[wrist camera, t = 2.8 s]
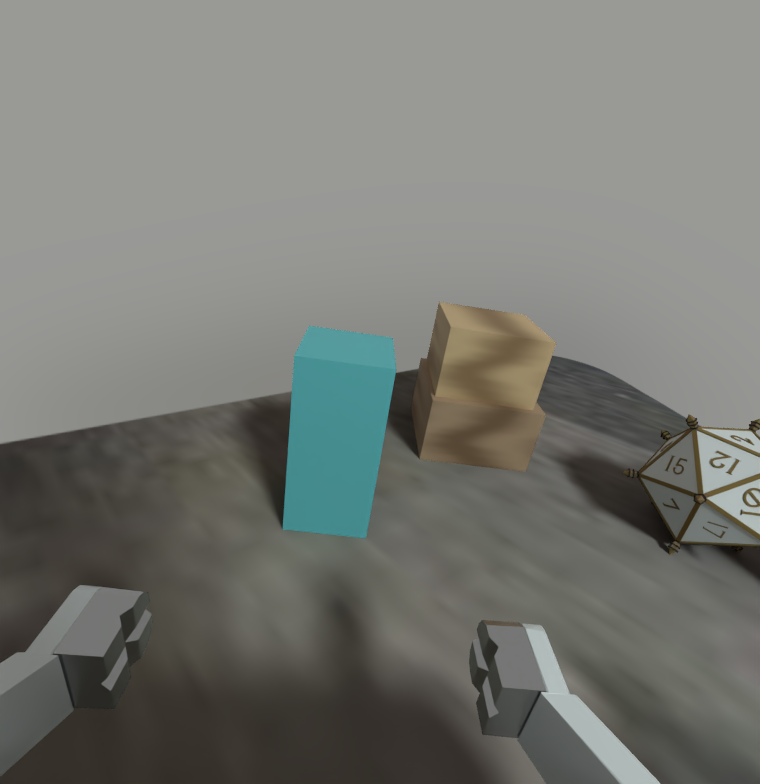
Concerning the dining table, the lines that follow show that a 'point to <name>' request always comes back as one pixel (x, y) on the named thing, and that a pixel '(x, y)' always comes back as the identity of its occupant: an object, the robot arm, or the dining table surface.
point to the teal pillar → (337, 430)
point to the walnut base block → (472, 429)
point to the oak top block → (488, 356)
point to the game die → (707, 485)
